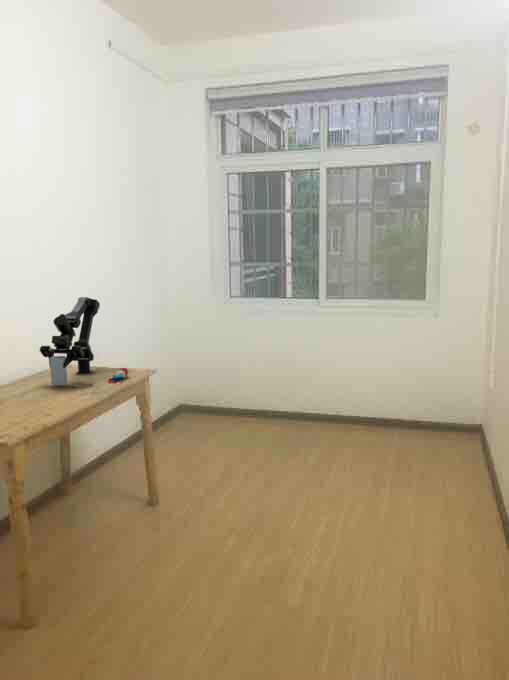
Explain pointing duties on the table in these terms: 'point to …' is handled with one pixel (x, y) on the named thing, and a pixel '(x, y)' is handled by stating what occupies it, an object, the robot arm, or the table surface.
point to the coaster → (83, 384)
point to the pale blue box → (58, 370)
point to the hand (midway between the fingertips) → (57, 367)
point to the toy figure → (119, 375)
